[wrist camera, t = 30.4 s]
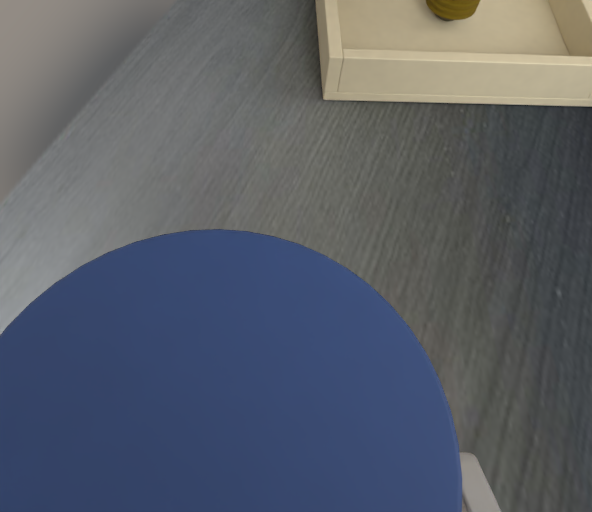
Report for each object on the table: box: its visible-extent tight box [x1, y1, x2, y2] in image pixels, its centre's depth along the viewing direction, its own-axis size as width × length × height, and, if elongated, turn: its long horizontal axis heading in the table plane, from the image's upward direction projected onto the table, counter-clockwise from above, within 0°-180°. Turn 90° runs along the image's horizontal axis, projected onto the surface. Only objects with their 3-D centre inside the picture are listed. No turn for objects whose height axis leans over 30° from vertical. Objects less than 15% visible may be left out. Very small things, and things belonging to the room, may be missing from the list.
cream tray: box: [315, 0, 592, 107], centre depth 27 cm, size 13×11×2 cm
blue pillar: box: [0, 229, 462, 512], centre depth 9 cm, size 5×5×9 cm
